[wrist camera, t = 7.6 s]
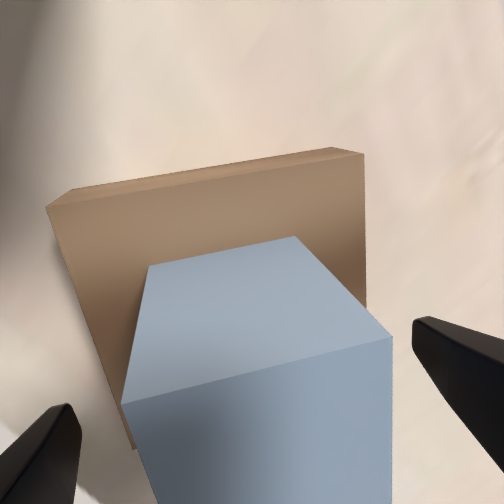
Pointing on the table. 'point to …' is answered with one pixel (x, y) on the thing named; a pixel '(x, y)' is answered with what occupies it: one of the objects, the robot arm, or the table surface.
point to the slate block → (259, 382)
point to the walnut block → (203, 232)
